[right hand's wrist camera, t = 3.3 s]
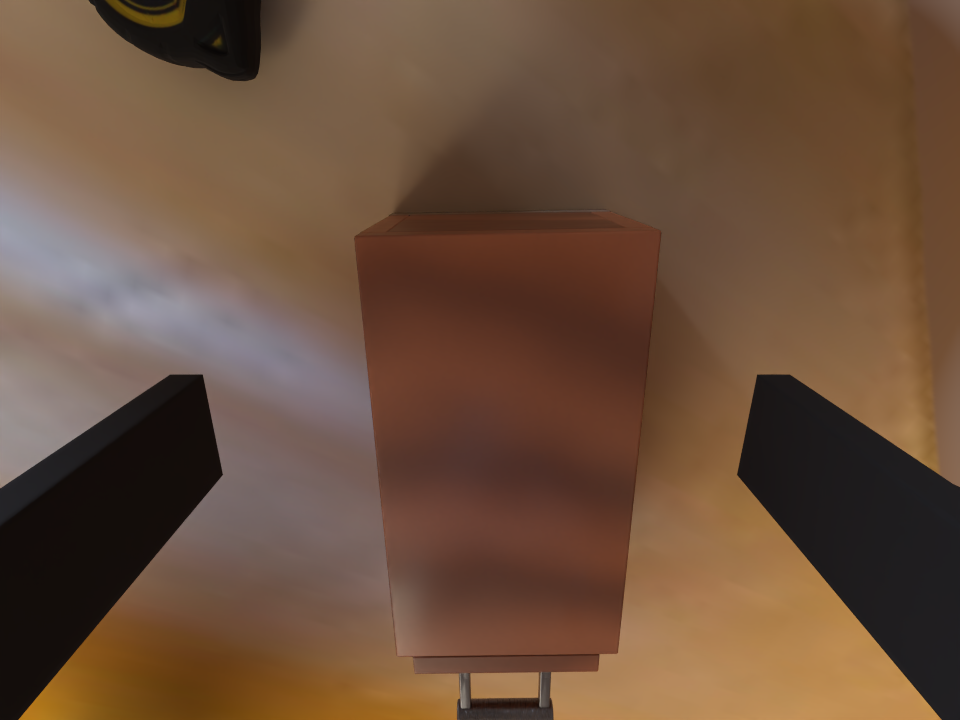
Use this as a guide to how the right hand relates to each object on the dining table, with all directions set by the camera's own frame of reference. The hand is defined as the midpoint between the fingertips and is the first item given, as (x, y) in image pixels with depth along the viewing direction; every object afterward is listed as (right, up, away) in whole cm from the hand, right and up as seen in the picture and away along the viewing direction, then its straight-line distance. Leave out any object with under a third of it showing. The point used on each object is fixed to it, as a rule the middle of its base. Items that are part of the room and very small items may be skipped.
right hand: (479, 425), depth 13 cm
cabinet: (+1, 0, +17) cm, 17 cm away
